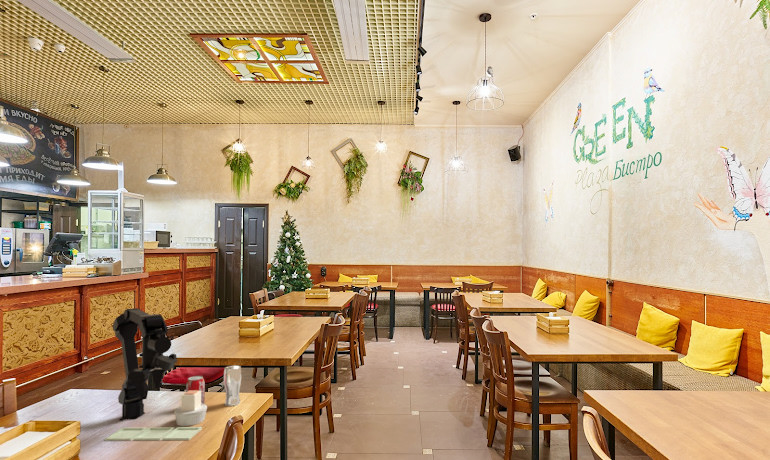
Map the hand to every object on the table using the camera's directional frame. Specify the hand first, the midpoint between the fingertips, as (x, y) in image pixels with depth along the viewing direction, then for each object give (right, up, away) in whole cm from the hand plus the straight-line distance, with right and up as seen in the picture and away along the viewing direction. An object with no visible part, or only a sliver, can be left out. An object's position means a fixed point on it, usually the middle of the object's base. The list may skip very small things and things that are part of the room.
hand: (150, 392), depth 153 cm
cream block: (+13, -8, +4) cm, 16 cm away
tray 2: (+6, -12, -8) cm, 16 cm away
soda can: (+8, -14, +19) cm, 25 cm away
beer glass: (+22, -14, +23) cm, 34 cm away
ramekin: (+13, -13, +4) cm, 19 cm away
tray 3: (+16, -12, -8) cm, 21 cm away
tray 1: (-4, -12, -8) cm, 15 cm away
